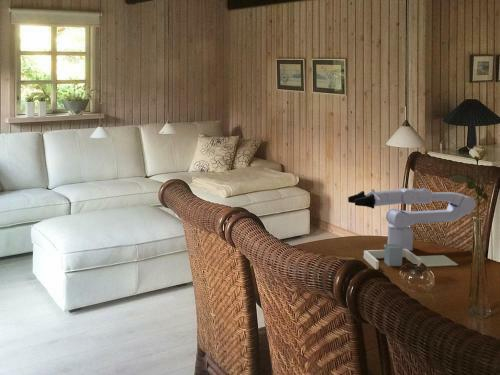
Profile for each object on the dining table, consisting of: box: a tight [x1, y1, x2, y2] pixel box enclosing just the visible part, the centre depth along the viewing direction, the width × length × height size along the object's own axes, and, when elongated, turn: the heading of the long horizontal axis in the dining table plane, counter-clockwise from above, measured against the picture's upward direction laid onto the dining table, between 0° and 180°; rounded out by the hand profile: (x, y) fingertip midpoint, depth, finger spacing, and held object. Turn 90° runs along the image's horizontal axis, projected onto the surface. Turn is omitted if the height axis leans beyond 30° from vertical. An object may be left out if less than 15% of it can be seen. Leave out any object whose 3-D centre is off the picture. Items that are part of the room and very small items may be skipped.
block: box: [383, 243, 403, 267], centre depth 224 cm, size 5×5×7 cm
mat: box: [416, 254, 459, 268], centre depth 228 cm, size 12×12×1 cm
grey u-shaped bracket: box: [363, 249, 422, 270], centre depth 226 cm, size 17×14×3 cm
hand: (351, 201), depth 238 cm, fingers open, 7 cm apart
